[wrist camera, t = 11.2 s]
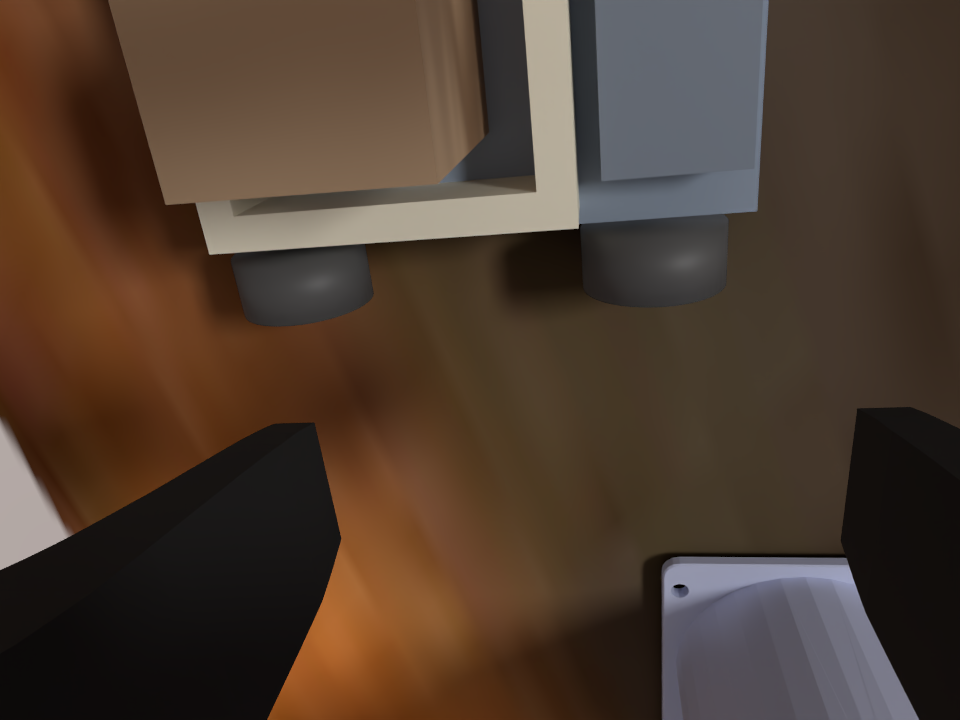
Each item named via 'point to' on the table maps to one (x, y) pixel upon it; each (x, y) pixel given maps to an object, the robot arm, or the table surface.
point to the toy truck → (551, 161)
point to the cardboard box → (303, 93)
